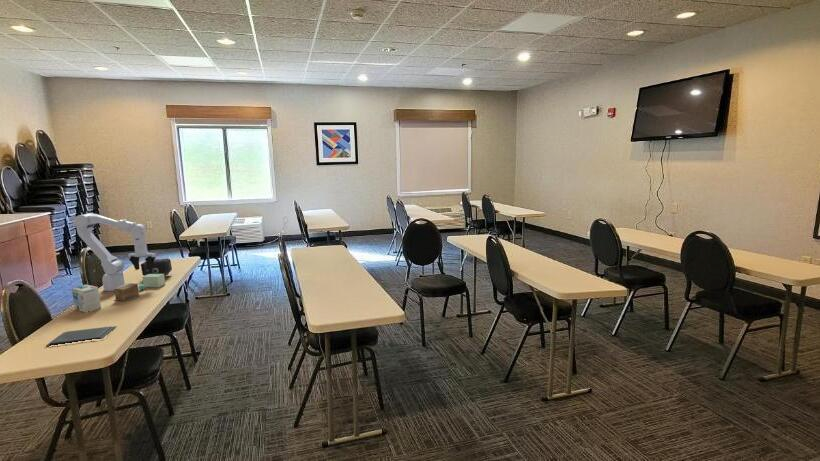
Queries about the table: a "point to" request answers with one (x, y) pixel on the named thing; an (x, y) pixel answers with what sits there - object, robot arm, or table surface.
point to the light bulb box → (86, 298)
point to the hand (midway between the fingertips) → (143, 269)
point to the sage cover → (153, 280)
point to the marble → (141, 287)
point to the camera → (157, 267)
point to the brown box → (126, 291)
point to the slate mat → (128, 299)
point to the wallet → (81, 335)
